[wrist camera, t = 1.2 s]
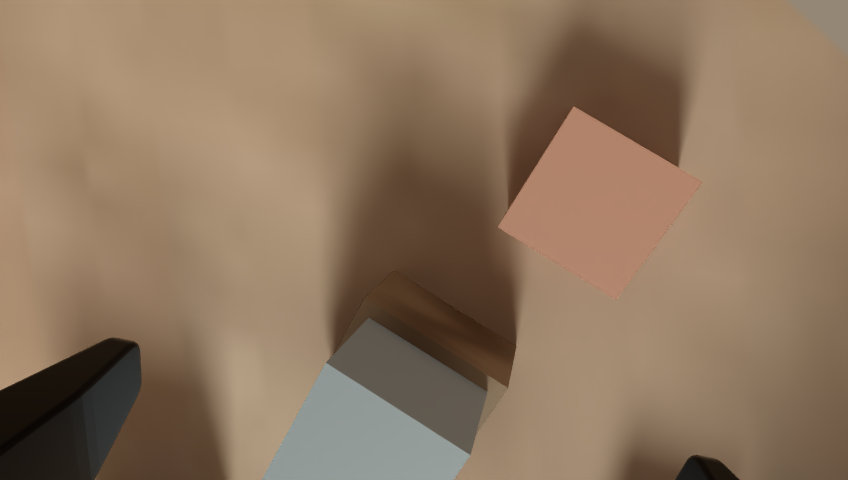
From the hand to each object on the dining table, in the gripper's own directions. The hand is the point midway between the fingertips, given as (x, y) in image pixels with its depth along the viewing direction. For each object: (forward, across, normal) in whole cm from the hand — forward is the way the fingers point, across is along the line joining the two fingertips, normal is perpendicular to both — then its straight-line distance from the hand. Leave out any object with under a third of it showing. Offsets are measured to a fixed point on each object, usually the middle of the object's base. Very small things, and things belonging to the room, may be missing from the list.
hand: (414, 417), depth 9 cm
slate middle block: (+9, 0, +9) cm, 13 cm away
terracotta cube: (+14, -6, +1) cm, 15 cm away
